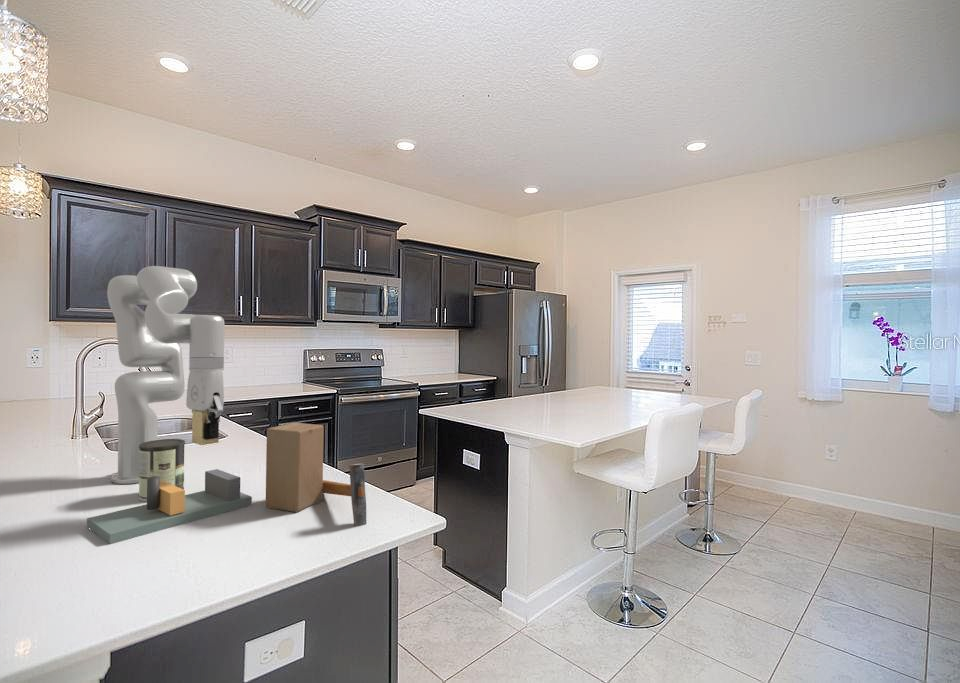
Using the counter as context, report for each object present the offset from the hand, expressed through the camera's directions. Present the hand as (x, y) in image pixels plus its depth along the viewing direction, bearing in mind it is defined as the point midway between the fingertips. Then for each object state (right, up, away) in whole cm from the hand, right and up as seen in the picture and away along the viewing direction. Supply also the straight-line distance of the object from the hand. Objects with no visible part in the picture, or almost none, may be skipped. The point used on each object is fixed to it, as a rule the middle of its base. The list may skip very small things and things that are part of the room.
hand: (205, 436), depth 120 cm
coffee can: (-17, -18, +8) cm, 26 cm away
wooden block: (+21, -18, +4) cm, 28 cm away
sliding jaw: (-6, -15, -8) cm, 18 cm away
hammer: (+32, -19, +3) cm, 37 cm away
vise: (-4, -18, -5) cm, 19 cm away
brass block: (0, -2, 0) cm, 2 cm away
